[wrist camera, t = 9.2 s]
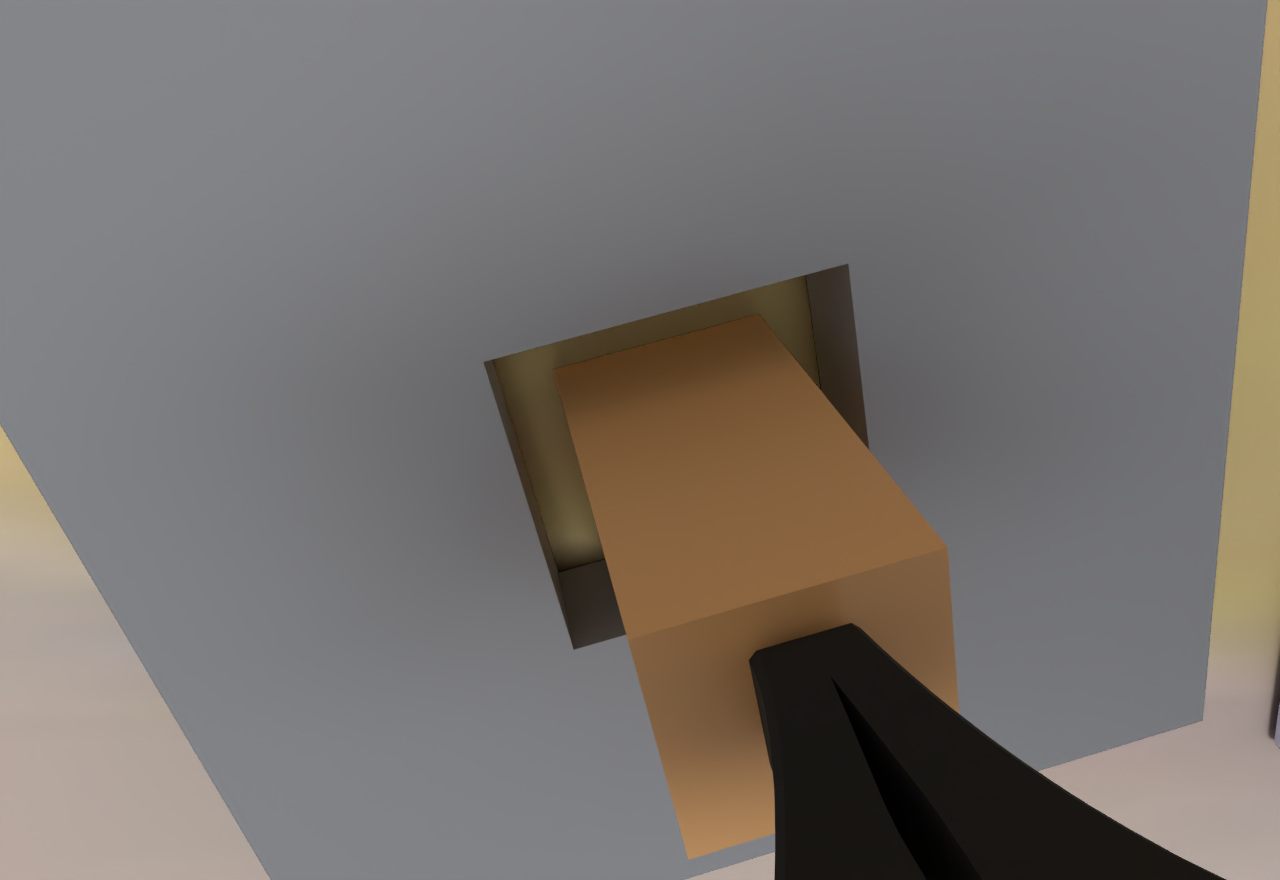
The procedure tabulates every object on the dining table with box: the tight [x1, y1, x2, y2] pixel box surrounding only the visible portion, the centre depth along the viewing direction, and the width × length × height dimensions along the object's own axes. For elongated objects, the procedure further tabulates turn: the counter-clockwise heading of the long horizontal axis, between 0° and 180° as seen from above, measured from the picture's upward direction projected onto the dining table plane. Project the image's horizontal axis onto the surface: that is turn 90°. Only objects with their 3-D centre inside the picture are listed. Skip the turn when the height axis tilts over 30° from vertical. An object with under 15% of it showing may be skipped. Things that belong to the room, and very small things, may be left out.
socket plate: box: [0, 0, 1267, 880], centre depth 19 cm, size 20×20×2 cm
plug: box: [553, 314, 959, 860], centre depth 17 cm, size 4×4×8 cm
